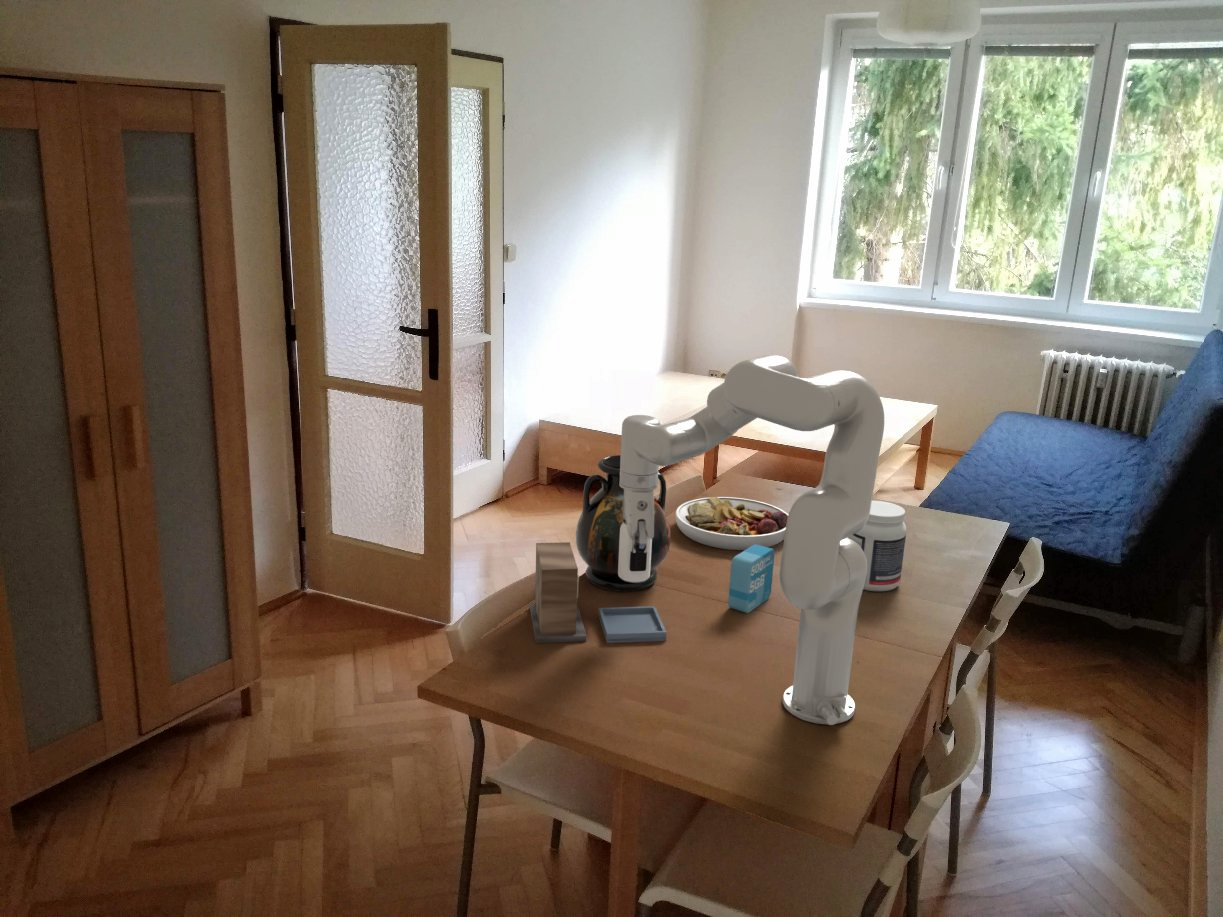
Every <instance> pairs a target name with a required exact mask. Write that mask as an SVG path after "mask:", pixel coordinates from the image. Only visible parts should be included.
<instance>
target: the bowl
mask: <svg viewBox="0 0 1223 917" xmlns="http://www.w3.org/2000/svg"><path fill="white" fill-rule="evenodd" d="M788 515H789V513H787V512H786V511H785V510H783V509H781V508H779V507H777V506H774V505H773V504H769V503H766V502H763V501H758V500H756V499H755V500H754V499H749V498H741V497H732V496H731V497H730V496H713V497H711V496H710V497H702V498H697V499H692V500H688V501H686V502H684V503H681V505H679V506H678V507H677V509H676V510H675V522H676V524H677V527H678V529H679V530H680V532H681V533H683V535H685V536H686V537H687V538H689V539H691V540H692V541H693V542H694V541H695V542H697V543H699V544H701V545H705V546H708V547H711V548H716V549H722V550H723V549H724V550H731V551H745V550H746V549H748V548H750V547H751V546H753V545H755V544H756V545H760V546H764V547H767V548H771V547H773V546H776V545H778V544H780V543H781V542H782V541H784V537H785V530H786V524H787V518H788Z"/></svg>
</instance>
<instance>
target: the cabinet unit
mask: <svg viewBox="0 0 1223 917" xmlns="http://www.w3.org/2000/svg"><path fill="white" fill-rule="evenodd" d="M575 558H576V557H575V555H574V551H573V547H572V545H571V542H569V541H568V542H565V541H564V542H536V543H535V590H534V591H535V592H534V593H535V596H534V598H535V599H534V602H529V611H530V616H531V621H532V622H531V623H532V628H533V634H534V639H535V640H534V641H535V643H536V644H552V643H554V644H555V643H570V642H571V643H573V642H576V643H578V642H587V633H586V629H585V626H584V622H583V618H582V615H581V611H580V608H579V605H578V599H579V582H580V577H579V573H578V572H579V568H578V566H577V562H576V559H575Z"/></svg>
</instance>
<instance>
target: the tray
mask: <svg viewBox="0 0 1223 917" xmlns="http://www.w3.org/2000/svg"><path fill="white" fill-rule="evenodd" d="M598 619H599V622H600V626H601V628H602V631H603V635H604V638H605V641H606V643H607V644H613V643H616V644H617V643H639V642H661V641H662V642H664V641H665V642H666V641H667V634H668V632H667V630H666V628H665V626H664V624H663V621H662V619H661V616H660V615H659V612H658V610H657V607H656V606H653V605H652V606H650V605H649V606H625V607H624V606H621V607H618V606H617V607H599V608H598Z"/></svg>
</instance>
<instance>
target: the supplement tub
mask: <svg viewBox="0 0 1223 917" xmlns="http://www.w3.org/2000/svg"><path fill="white" fill-rule="evenodd" d="M905 520H906V510H905V509H904V508H903V507H902V506H900V505H898V504H895V503H892V502H889V501H884V500H883V501H882V500H872V502H871V509H870V515H869V518H868V521H867V523H866V525H865V526H864V527H863V528H862V529H861V530H860V531H858V532H857V533H855V534H853V535H851V536H849V537H848V538H849V539H851V540H853V541H855V542H856V543H857V544H858V545H859V546H860V547H861V548H862V550H863V552H864V554H865V556H866V560H867V576H866V581H865V585H864V588H863V591H864V590H865V591H869V592H870V591H871V592H888V591H892V590H894V589H896V588H897V587H899V585H900V583H901V581H902V580H901V577H902V570H903V562H904V552H905V544H906V538H907V531H908V530H907V526H906V523H905V522H904V521H905Z"/></svg>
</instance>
